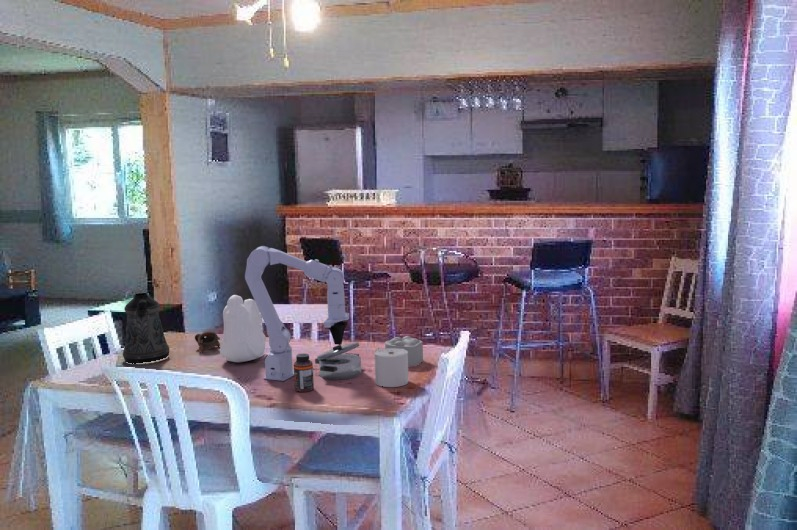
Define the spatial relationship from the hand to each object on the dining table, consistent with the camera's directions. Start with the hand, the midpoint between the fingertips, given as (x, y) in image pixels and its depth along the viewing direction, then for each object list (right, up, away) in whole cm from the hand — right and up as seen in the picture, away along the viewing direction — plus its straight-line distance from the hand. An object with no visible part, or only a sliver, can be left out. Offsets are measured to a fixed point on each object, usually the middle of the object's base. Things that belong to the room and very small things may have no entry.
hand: (338, 344), depth 240 cm
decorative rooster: (-35, -8, +25) cm, 44 cm away
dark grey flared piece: (-73, -9, +27) cm, 78 cm away
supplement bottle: (-9, -13, -15) cm, 22 cm away
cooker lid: (0, -3, 0) cm, 3 cm away
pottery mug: (-54, -7, +39) cm, 67 cm away
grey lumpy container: (+22, -8, +13) cm, 27 cm away
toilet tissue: (+18, -11, -10) cm, 23 cm away
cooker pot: (+1, -10, +1) cm, 10 cm away
